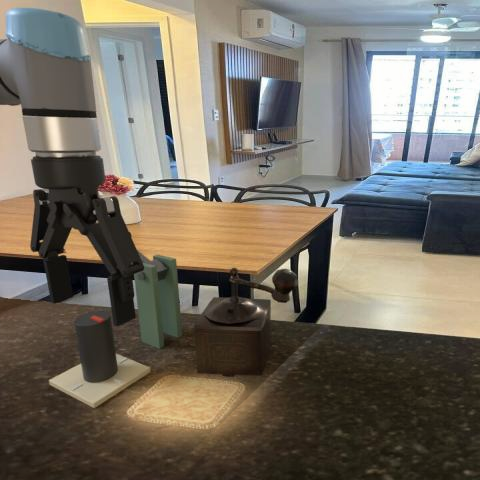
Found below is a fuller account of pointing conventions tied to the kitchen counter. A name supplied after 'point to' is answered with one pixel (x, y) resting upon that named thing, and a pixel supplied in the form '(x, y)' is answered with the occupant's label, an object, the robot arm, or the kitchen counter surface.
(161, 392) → the kitchen counter surface
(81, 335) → the cylinder
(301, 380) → the kitchen counter surface
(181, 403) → the kitchen counter surface
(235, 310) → the coffee grinder
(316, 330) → the kitchen counter surface
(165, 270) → the dark grey lever
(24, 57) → the robot arm
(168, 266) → the green lever stand
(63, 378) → the dial panel
